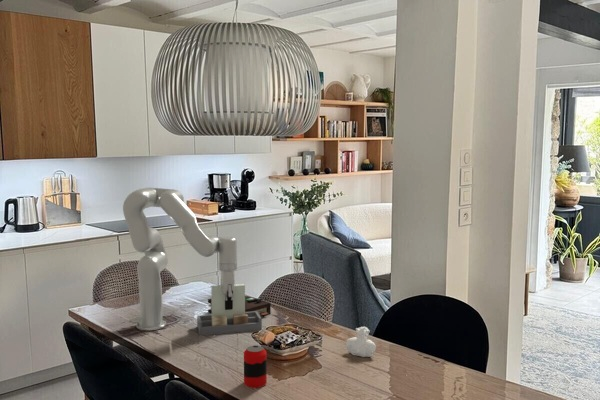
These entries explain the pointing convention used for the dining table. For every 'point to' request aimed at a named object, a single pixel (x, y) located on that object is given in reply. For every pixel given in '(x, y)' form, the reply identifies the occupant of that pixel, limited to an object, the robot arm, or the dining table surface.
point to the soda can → (255, 367)
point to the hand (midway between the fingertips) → (228, 308)
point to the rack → (228, 324)
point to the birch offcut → (219, 320)
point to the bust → (361, 344)
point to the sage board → (220, 298)
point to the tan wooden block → (240, 319)
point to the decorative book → (253, 306)
